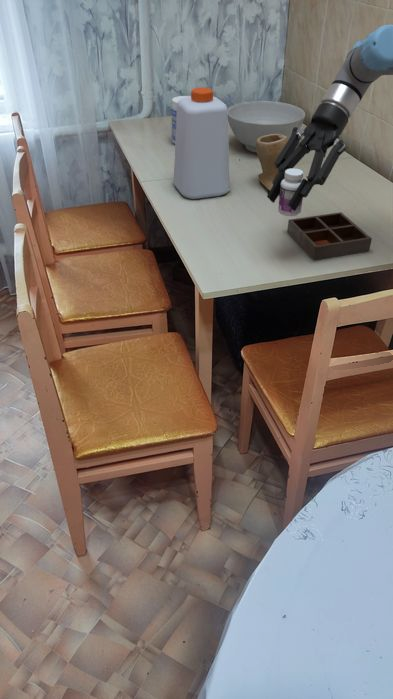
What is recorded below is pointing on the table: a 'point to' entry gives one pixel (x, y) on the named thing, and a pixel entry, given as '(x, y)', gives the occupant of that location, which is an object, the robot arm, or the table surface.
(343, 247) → the grid
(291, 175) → the pill bottle
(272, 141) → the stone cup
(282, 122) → the decorative bowl
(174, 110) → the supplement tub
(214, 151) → the plastic bottle
